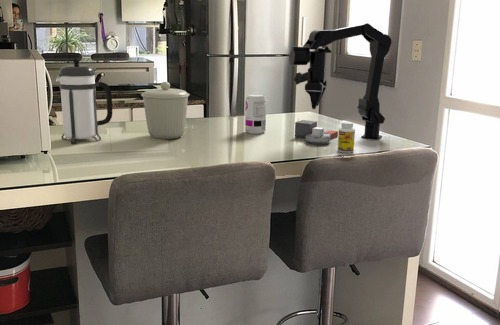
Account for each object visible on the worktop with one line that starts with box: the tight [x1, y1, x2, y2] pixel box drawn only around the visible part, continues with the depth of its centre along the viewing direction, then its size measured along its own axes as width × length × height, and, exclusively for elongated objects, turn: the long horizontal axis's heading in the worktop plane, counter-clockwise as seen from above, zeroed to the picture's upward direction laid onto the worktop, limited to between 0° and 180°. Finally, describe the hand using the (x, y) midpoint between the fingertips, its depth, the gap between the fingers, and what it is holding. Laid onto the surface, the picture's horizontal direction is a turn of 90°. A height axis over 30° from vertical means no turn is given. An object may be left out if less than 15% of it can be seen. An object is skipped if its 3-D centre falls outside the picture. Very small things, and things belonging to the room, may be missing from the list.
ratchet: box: [304, 126, 339, 146], centre depth 208 cm, size 20×9×6 cm, turn 150°
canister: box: [140, 81, 191, 140], centre depth 208 cm, size 18×18×21 cm
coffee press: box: [55, 57, 113, 145], centre depth 200 cm, size 17×16×30 cm
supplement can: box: [244, 93, 267, 135], centre depth 220 cm, size 8×8×15 cm
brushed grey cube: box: [294, 119, 318, 140], centre depth 213 cm, size 6×6×6 cm
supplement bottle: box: [337, 121, 356, 154], centre depth 189 cm, size 6×6×10 cm
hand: (315, 107), depth 205 cm, fingers open, 9 cm apart
